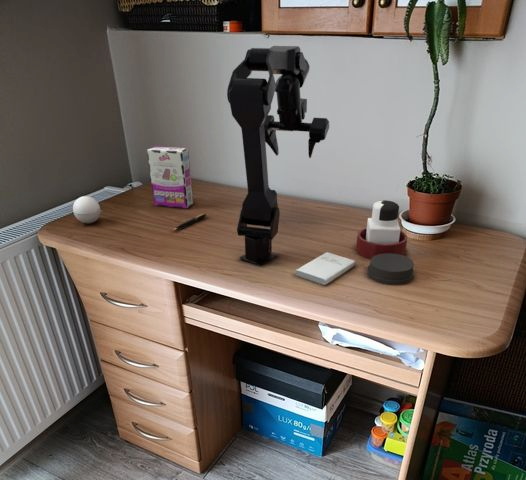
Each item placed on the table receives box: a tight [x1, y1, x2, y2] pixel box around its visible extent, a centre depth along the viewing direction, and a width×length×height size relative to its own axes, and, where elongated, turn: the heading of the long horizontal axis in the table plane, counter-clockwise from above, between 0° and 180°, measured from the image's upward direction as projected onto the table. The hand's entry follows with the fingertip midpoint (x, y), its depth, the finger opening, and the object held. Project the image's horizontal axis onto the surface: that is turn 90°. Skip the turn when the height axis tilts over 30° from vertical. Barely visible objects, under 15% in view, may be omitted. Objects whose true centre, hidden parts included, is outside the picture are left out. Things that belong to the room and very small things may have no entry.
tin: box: [355, 227, 408, 260], centre depth 126 cm, size 12×12×4 cm
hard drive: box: [294, 251, 356, 286], centre depth 118 cm, size 2×8×12 cm
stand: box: [366, 253, 415, 286], centre depth 116 cm, size 10×10×3 cm
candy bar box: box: [146, 146, 194, 209], centre depth 152 cm, size 11×5×16 cm, turn 73°
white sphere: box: [72, 195, 102, 224], centre depth 142 cm, size 10×7×7 cm
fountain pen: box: [172, 213, 207, 231], centre depth 143 cm, size 14×1×2 cm, turn 146°
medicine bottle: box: [366, 199, 401, 244], centre depth 124 cm, size 7×7×12 cm
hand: (293, 155), depth 139 cm, fingers open, 9 cm apart
